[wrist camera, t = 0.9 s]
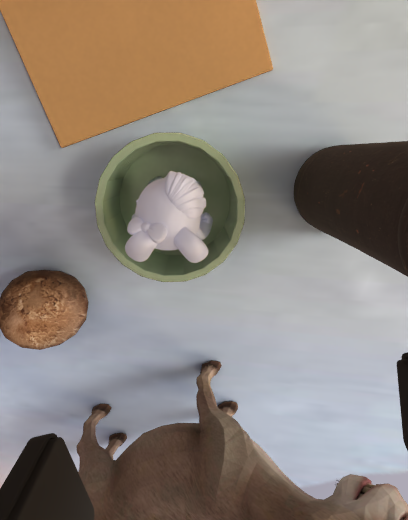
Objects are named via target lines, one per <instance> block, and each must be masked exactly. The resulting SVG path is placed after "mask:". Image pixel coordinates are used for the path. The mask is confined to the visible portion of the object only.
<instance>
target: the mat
mask: <svg viewBox="0 0 408 520" xmlns="http://www.w3.org/2000/svg"><path fill="white" fill-rule="evenodd" d="M0 11H1V13H2V15H3V17H4V20H5V22H6V24H7V26H8V29H9V31H10V33H11V35H12V38H13V40H14V42H15V44H16V47H17V49H18V51H19V53H20V56H21V58H22V60H23V62H24V65H25V67H26V69H27V72H28V74H29V76H30V78H31V81H32V83H33V85H34V87H35V90H36V92H37V94H38V96H39V99H40V101H41V103H42V105H43V108H44V110H45V112H46V114H47V117H48V119H49V121H50V123H51V126H52V128H53V130H54V133H55V135H56V137H57V139H58V142H59V144H60V146H61V148H64V147H66V146H69V145H72V144H74V143H77V142H80V141H82V140H85V139H88V138H91V137H93V136H96V135H99V134H101V133H104V132H107V131H109V130H112V129H115V128H118V127H120V126H123V125H126V124H128V123H131V122H134V121H136V120H139V119H142V118H144V117H147V116H150V115H153V114H155V113H158V112H161V111H163V110H166V109H169V108H171V107H174V106H177V105H179V104H182V103H185V102H188V101H190V100H193V99H196V98H198V97H201V96H204V95H206V94H209V93H212V92H215V91H217V90H220V89H223V88H225V87H228V86H231V85H233V84H236V83H239V82H241V81H244V80H247V79H250V78H252V77H255V76H258V75H260V74H263V73H266V72H268V71H271V70H272V69H273V67H272V63H271V59H270V55H269V51H268V47H267V43H266V39H265V35H264V31H263V27H262V23H261V19H260V15H259V11H258V7H257V3H256V0H0Z"/></svg>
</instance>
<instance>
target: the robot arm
mask: <svg viewBox="0 0 408 520" xmlns="http://www.w3.org/2000/svg"><path fill="white" fill-rule="evenodd" d="M397 373H398V384H399V395H400V406H401V417H402V428H403V439H404V443H405V446H406V448H407V450H408V353H404V354H403V355H402V360H399V361H398V362H397ZM0 520H94V507H93V505H92V502H91V500H90V498H89V496H88V494H87V491H86V489H85V487H84V485H83V482H82V480H81V478H80V476H79V473H78V471H77V469H76V467H75V464H74V462H73V460H72V458H71V455H70V453H69V451H68V449H67V447H66V444H65V442H64V440H63V439H62V438H61V437H59V438H58V437H57V435H56V434H54V433H51V434H46V435H42V436H38V437H33V438H31V439H30V440H29V441H28V443H27V445H26V446H25V448H24V450H23V451H22V453H21V455H20V456H19V458H18V460H17V462H16V463H15V465H14V467H13V468H12V470H11V472H10V473H9V475H8V477H7V478H6V480H5V482H4V484H3V485H2V487H1V489H0Z"/></svg>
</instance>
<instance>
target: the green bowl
mask: <svg viewBox="0 0 408 520" xmlns="http://www.w3.org/2000/svg"><path fill="white" fill-rule="evenodd" d="M170 171H173V172H176V173H177V172H181V174H185V175H187V176H189V177H192V178H194V179H195V180H196V181H199V182H200V183H201V186H202V189H203V191H204V194H203V198H205V199H206V207H205V208H204V210H203V212H202V213H203V214H204V213H205V212H207V213H209V214H210V216H211V217H212V219H213V223H212V227H211V231H210V233H209V235H208V236H207V237H206V238H205V239H203V240H202V241H203V242H204V243H205V245H206V246H207V248H208V255H207V257H206V258H205V259H203V260H202V261H200V262H197V263H192V262H190V261H188V260H187V259H186V258H185V257H184V255H183V254H182V253H181V252H180V251H179V249H178V250H159V249H155V248H154V250H153V251H152V253H151V255H150V256H149V258H148V259H147V260H145V261H143V262H138V261H135V260H133V259H132V258H130V257H129V256H128V255H127V253H126V251H125V245H126V243H127V241H128V240H129V238H130V237H131V236H132V235H131V234H129V233H128V231H127V227H128V224H129V222H130V221H131V220H132V215H133V214H135V210H136V205H137V204H136V203H137V202H136V201H137V200H138V199H139V196H140V194H141V193H142V191H143V190H144V189H145V187H146V186H147V185H148V183H149V182H150V181H151V180H153V179H154V178H155V177H158V176H160V177H162V178H164V177H166V176H167V174H168V173H169V172H170ZM95 209H96V218H97V226H98V228H99V230H100V233H101V235H102V237H103V239H104V242H105V244H106V246H107V248H108V249H109V250H110V251H111V252H112V253H113V254H114V256H115V257H116V258H117V259H118V260H119V261H120V262H121V264H123V265H124V266H126V267H127V268H129V269H131V270H132V271H134V272H135V273H137V274H138V275H140V276H143V277H146V278H150V279H154V280H157V281H161V282H183V281H188V280H191V279H194V278H197V277H200V276H203V275H205V274H207V273H208V272H210V271H211V270H213V269H214V268H215V267H217V266H218V265H220V264H221V263H222V262H223V261H224V260H225V259H226V258H227V256H228V255H229V254H230V252H231V251H232V250H233V248H234V247H235V246H236V244H237V242H238V239H239V236H240V233H241V231H242V228H243V225H244V216H245V199H244V194H243V191H242V188H241V184H240V181H239V178H238V176H237V174H236V172H235V171H234V169H233V168H232V167H231V165H230V164H229V162H228V161H227V159H226V158H225V157H224V156H223V155H222V154H221V153H220V152H218V151H217V150H216V149H214V148H213V147H212V146H210V145H209V144H208V143H206V142H205V141H203V140H201V139H198V138H195V137H191V136H188V135H185V134H182V133H153V134H151V135H148V136H145V137H142V138H140V139H137V140H134V141H132V142H130V143H129V144H128V145H127V146H125V147H124V148H123V149H122V150H121V151H119V152H118V153H117V154H116V155H114V156H113V158H112V159H111V160H110V162H109V164H108V165H107V167H106V168H105V170H104V172H103V173H102V175H101V177H100V179H99V184H98V189H97V193H96V198H95Z"/></svg>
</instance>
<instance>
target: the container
mask: <svg viewBox="0 0 408 520" xmlns="http://www.w3.org/2000/svg"><path fill="white" fill-rule="evenodd" d="M294 199H295V203H296V206H297V209H298V211H299V213H300V214H301V216H302V217H303V218H304V219H305V220H306V221H307V222H308V223H309V224H310V225H312V226H313V227H315V228H317V229H318V230H320V231H322V232H324V233H326V234H329V235H331V236H333V237H335V238H337V239H339V240H341V241H343V242H345V243H347V244H348V245H350V246H352V247H354V248H356V249H358V250H360V251H362V252H364V253H366V254H367V255H369V256H371V257H373V258H375V259H377V260H379V261H381V262H382V263H384V264H386V265H388V266H390V267H392V268H393V269H395V270H397V271H399V272H401V273H402V274H404V275H406V276H408V141H403V142H387V143H369V144H355V145H339V146H332V147H328V148H325V149H322V150H320V151H318V152H317V153H315V154H313V155H312V156H311V157H310V158H309V159H308V160H307V161H306V162H305V163H304V164H303V165H302V167H301V169H300V170H299V172H298V175H297V177H296V180H295V185H294Z"/></svg>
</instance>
